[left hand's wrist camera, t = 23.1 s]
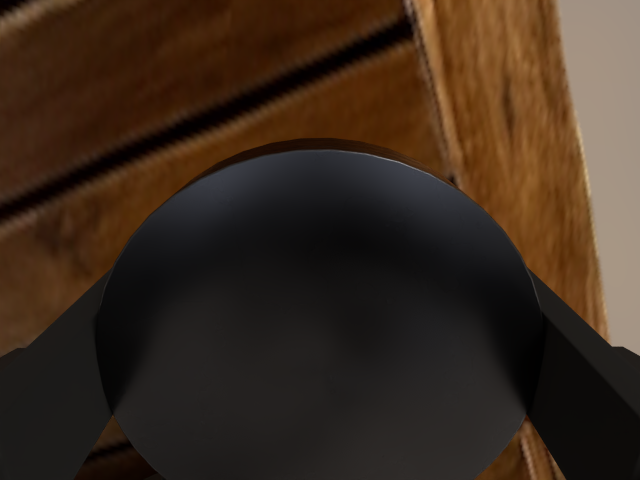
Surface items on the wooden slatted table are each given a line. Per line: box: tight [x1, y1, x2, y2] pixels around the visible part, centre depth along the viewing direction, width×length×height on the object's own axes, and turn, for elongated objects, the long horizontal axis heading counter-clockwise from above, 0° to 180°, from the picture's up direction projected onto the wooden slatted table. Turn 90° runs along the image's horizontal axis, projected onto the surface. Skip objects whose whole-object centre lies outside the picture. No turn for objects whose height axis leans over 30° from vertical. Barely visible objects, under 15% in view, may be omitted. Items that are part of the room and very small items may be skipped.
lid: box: [96, 138, 544, 480], centre depth 11 cm, size 10×10×2 cm
